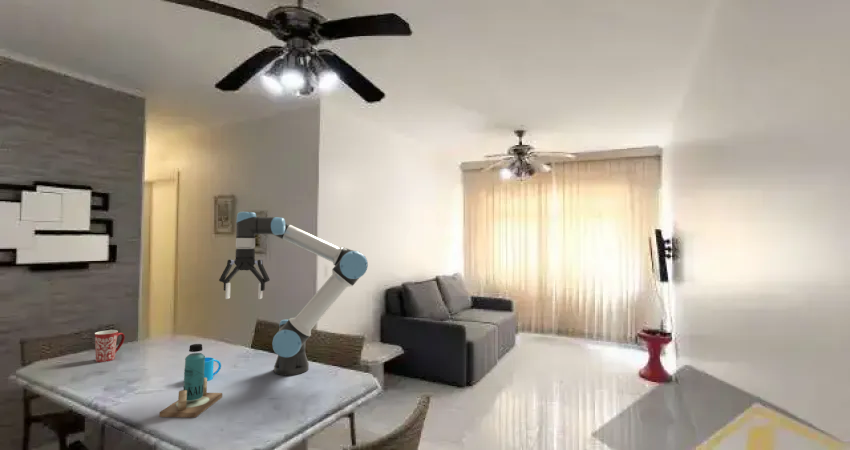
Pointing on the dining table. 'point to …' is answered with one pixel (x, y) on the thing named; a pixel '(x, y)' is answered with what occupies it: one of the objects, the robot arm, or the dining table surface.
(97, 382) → the dining table surface
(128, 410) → the dining table surface
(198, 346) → the beverage bottle
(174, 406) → the wooden board with pegs
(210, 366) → the mug
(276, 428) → the dining table surface
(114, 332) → the mug
